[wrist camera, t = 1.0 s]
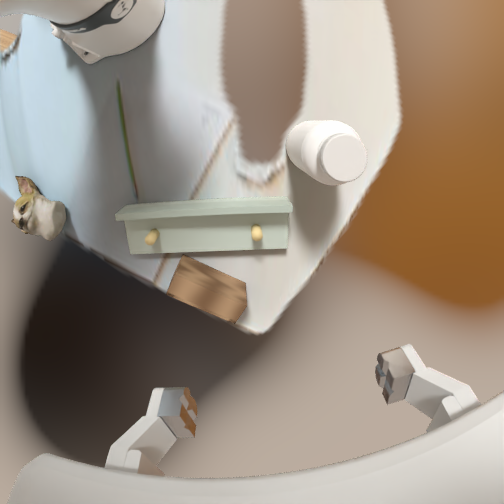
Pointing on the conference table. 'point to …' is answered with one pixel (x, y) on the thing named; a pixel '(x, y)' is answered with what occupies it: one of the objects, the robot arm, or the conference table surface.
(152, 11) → the robot arm
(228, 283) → the wooden box
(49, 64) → the conference table surface
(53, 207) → the ceramic sculpture
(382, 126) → the conference table surface
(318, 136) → the pill bottle
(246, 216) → the ledge
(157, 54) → the conference table surface
